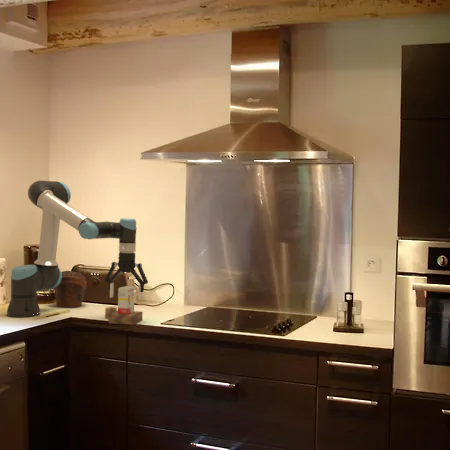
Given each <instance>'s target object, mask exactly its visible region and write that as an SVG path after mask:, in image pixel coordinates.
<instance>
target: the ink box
mask: <svg viewBox="0 0 450 450" xmlns="http://www.w3.org/2000/svg"><path fill="white" fill-rule="evenodd" d="M135 289H136V287H135V286H129V285H126V286H121V287H118V289H117V291H118V293H117V311H118V314H130V313H132V312H134V311H135V294H136V293H135Z"/></svg>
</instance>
